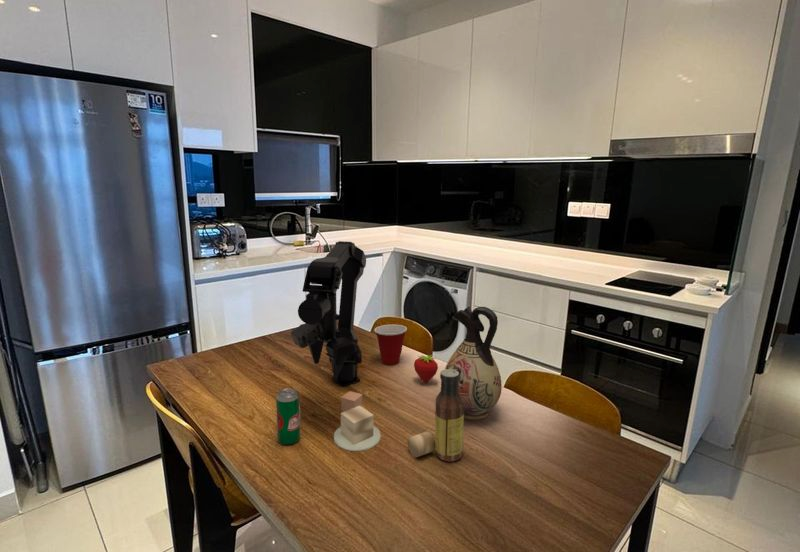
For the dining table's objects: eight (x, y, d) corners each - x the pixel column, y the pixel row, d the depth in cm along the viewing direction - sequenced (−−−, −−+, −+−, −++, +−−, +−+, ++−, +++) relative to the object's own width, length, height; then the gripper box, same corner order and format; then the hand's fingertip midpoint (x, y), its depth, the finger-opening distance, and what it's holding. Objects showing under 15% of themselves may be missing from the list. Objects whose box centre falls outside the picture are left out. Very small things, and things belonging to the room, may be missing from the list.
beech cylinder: (409, 455, 96) (426, 449, 98) (419, 459, 92) (436, 452, 94) (406, 435, 96) (422, 430, 99) (416, 438, 93) (433, 432, 95)
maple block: (359, 425, 105) (359, 405, 103) (373, 436, 101) (373, 415, 99) (340, 433, 101) (340, 413, 100) (354, 444, 97) (354, 423, 96)
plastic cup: (388, 352, 150) (388, 320, 147) (412, 361, 144) (413, 327, 141) (367, 362, 142) (367, 328, 139) (392, 371, 135) (392, 336, 133)
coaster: (362, 418, 109) (362, 417, 108) (389, 439, 100) (389, 437, 100) (325, 434, 102) (325, 432, 101) (351, 457, 93) (351, 455, 93)
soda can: (292, 448, 96) (290, 400, 93) (273, 443, 98) (271, 395, 95) (304, 436, 101) (303, 389, 98) (286, 431, 102) (284, 385, 100)
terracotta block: (349, 404, 116) (349, 390, 115) (362, 408, 114) (362, 394, 113) (341, 411, 112) (341, 397, 111) (354, 415, 110) (354, 401, 110)
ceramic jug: (428, 411, 113) (433, 303, 106) (462, 391, 124) (468, 292, 117) (484, 438, 102) (493, 319, 95) (515, 413, 113) (525, 305, 106)
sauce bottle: (464, 449, 97) (470, 369, 93) (459, 466, 92) (464, 381, 87) (436, 443, 99) (440, 364, 95) (429, 459, 94) (433, 376, 89)
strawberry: (418, 375, 133) (419, 345, 131) (440, 381, 130) (442, 351, 127) (409, 383, 128) (410, 352, 126) (432, 389, 125) (433, 357, 122)
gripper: (277, 307, 107) (279, 365, 110) (314, 328, 93) (316, 393, 97) (316, 300, 114) (317, 354, 117) (356, 318, 100) (356, 379, 104)
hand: (325, 369), depth 109 cm, fingers open, 9 cm apart
